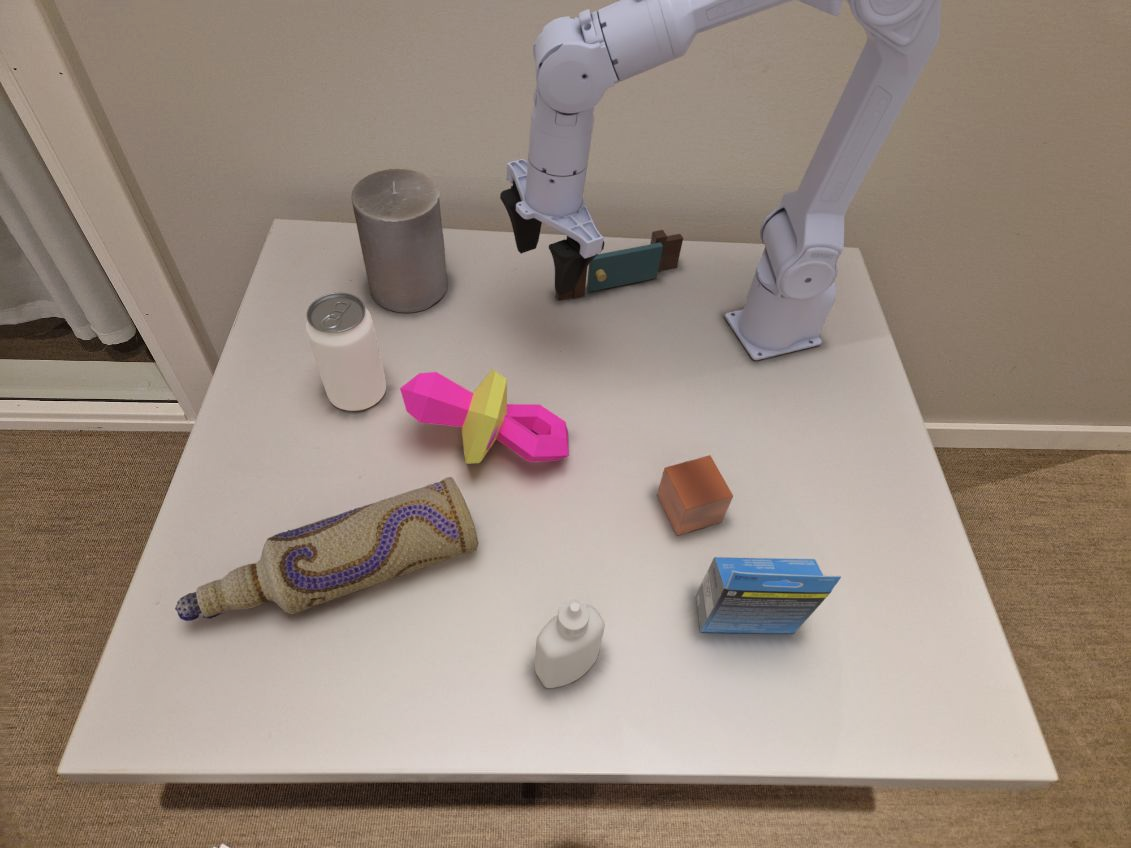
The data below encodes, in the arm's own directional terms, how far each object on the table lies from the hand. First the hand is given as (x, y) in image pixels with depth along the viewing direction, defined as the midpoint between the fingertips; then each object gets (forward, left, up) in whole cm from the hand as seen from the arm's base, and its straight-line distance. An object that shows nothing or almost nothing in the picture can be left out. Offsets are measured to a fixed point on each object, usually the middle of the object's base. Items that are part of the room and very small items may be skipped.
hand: (545, 269), depth 80 cm
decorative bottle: (+27, +23, -10) cm, 37 cm away
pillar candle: (+14, -12, -10) cm, 21 cm away
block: (-6, +28, -10) cm, 30 cm away
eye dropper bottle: (+11, +39, -10) cm, 41 cm away
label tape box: (-6, +40, -10) cm, 41 cm away
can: (+23, +3, -10) cm, 25 cm away
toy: (+11, +14, -10) cm, 20 cm away
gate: (-12, -5, -10) cm, 16 cm away
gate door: (-12, -5, -9) cm, 16 cm away
